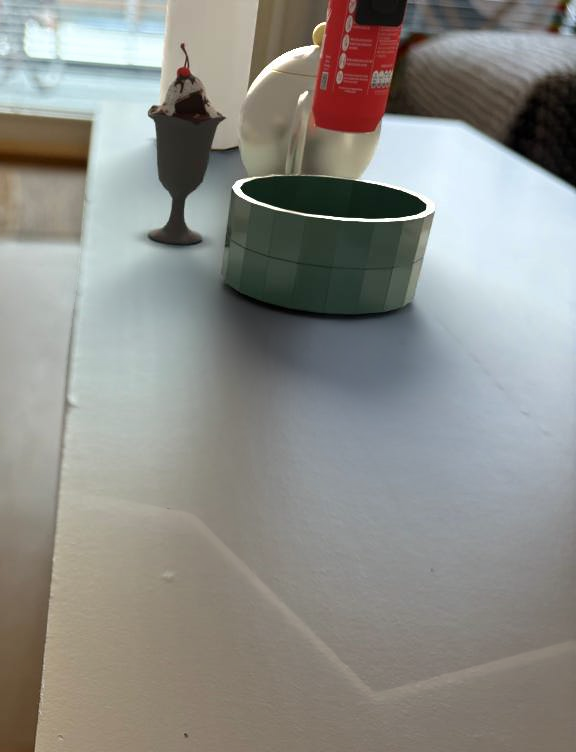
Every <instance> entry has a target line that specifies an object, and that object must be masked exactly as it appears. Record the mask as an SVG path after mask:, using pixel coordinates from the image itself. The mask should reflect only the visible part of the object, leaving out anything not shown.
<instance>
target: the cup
mask: <svg viewBox="0 0 576 752" xmlns="http://www.w3.org/2000/svg"><path fill="white" fill-rule="evenodd" d="M259 2H260V0H166V12H165V21H164V22H165V23H164V37H163V48H162V60H161V73H160V86H159V99H158V106H159V105H161V104H162V103H163V102H164V101H165V97H166V93H167V91H168V88H169V86H170V85H171V83H172V82H173V81H174V80H175V79H176V78H177V70H178V69H179V68H181V67H184V64H185V60H186V55H185V53H184V52H183V50H182V49H181V47H180V46H181V44H182V43H184V44H185V45H184V46H185V47H184V48H185V50H186V52H187V55H188V59H189V70H190V72H191V74H192V75H194V76H195V77H197V78H198V79H199V80H200V81H201V82H202V84H203V85H204V87H205V90H206V95H207V97H208V100H209V101H210V102H211V104H212V105H213V106H214V108H215V109H216V111H217V112H218V113H221V114H222V116H224V117H226V119H225V120H223V121H221V122H220V123H219V124H218V126H217V129H216V132H215V136H214V139H213V143H212V147H211V151H226V150H230V149H235V148H239V144H238V123H239V117H240V112H241V108H242V105H243V102H244V99H245V97H246V95H247V93H248V91H249V82H250V75H251V66H252V57H253V50H254V42H255V35H256V27H257V18H258V12H259V11H258V10H259V4H260V3H259ZM186 67H187V64H186Z"/></svg>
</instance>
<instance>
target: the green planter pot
mask: <svg viewBox="0 0 576 752" xmlns="http://www.w3.org/2000/svg"><path fill="white" fill-rule="evenodd" d="M229 199H230V200H229V207H228V208H229V209H228V216H227V223H226V232H225V240H224V247H223V255H222V264H221V269H220V270H221V271H220V274H221V277H222V279H223V281H224V283H225V284H226V285H228V286H230V287H231V288H232V289H234V290H235V291H236V292H238V293H240V294H243V295H246V296H247V297H250V298H253V299H255V300H258V301H261V302H264V303H267V304H271V305H273V306H278V307H282V308H286V309H289V310H290V309H291V310H295V311H301V312H307V313H314V314H325V315H326V314H327V315H362V314H363V315H364V314H373V313H385V312H390V311H393V310H394V311H395V310H397V309H402V308H403V307H405V306H407V305H408V304H409V303H411V302H412V301H414V299H415V295H416V291H417V288H418V287H417V286H418V282H419V279H420V275H421V270H422V266H423V262H424V258H425V254H426V251H427V246H428V243H429V238H430V233H431V229H432V225H433V222H434V217H435V214H436V204H435V203H434V202H432V201H431V200H430V199H429V198H427V197H426V196H424V195H422V194H418V193H416V192H414V191H411V190H409V189H405V188H402V187H398V186H394V185H390V184H387V183H382V182H377V181H371V180H368V179H367V180H366V179H361V178H359V179H355V178H347V177H338V176H330V175H313V174H270V175H262V176H254V177H250V176H249V177H246V178H243V179H240V180H237V181H236V182H235V183H234V184H233V186H232V187H231V192H230V198H229Z"/></svg>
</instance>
